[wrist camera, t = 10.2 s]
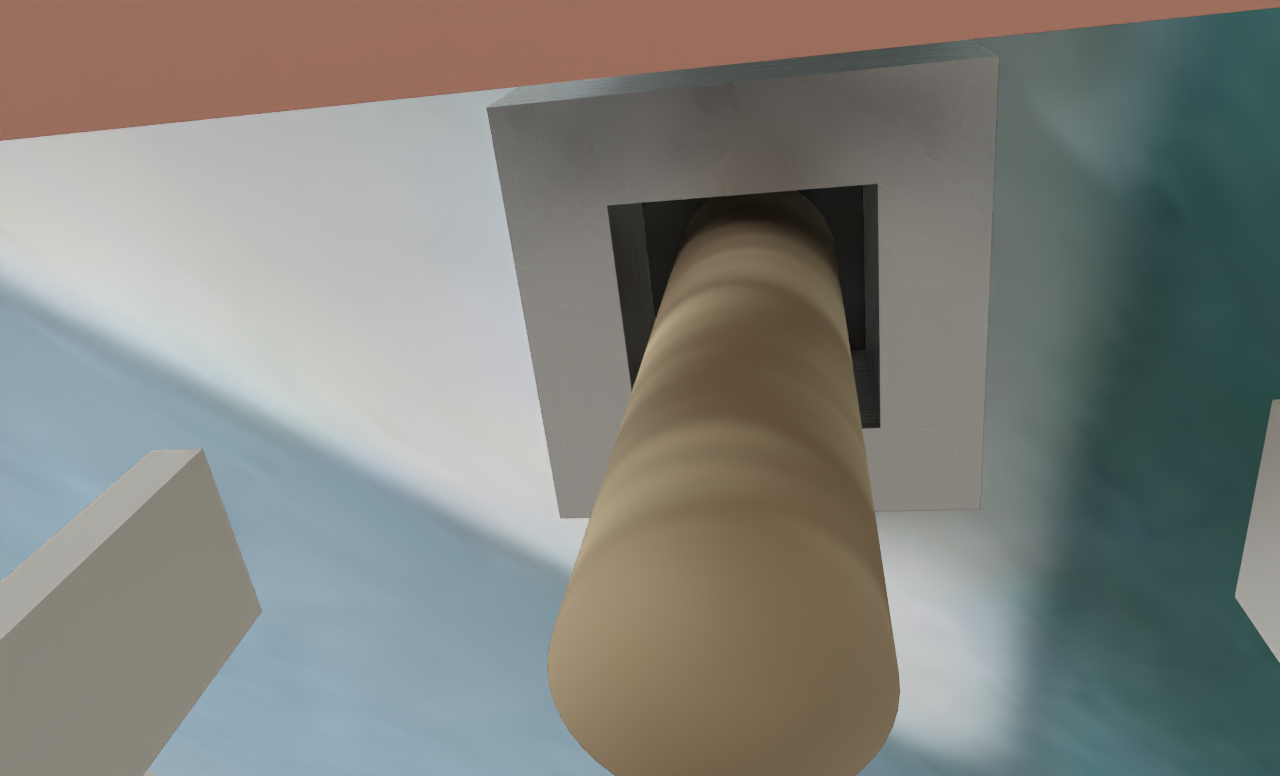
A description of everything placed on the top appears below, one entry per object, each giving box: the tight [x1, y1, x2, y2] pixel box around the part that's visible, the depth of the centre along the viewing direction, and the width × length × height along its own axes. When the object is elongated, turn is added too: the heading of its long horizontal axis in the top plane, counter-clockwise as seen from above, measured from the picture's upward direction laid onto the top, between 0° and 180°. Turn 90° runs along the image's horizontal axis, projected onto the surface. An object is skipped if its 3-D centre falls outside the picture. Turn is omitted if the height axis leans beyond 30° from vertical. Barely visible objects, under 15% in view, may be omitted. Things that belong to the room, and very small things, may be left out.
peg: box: [547, 190, 900, 776], centre depth 16 cm, size 4×4×14 cm
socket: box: [487, 39, 999, 518], centre depth 20 cm, size 9×9×4 cm
